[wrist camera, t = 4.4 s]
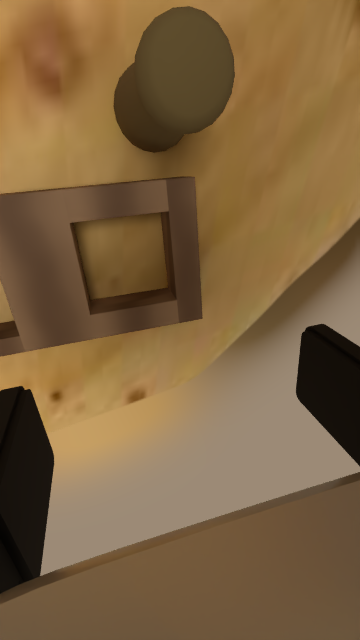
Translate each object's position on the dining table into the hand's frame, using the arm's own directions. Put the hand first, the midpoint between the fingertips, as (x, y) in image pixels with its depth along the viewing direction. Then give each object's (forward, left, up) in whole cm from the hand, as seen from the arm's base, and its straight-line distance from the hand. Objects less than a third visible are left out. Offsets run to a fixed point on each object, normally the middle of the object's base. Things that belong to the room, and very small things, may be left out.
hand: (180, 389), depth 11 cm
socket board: (+5, 0, -20) cm, 21 cm away
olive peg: (-4, -11, -20) cm, 24 cm away
